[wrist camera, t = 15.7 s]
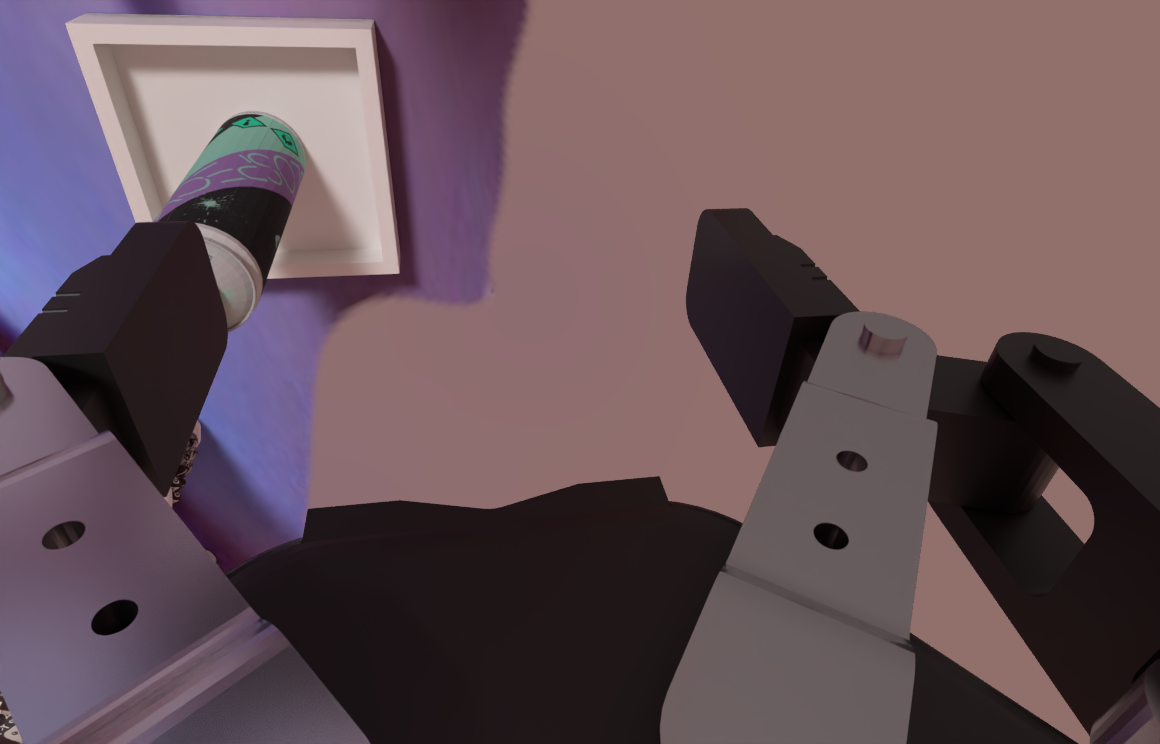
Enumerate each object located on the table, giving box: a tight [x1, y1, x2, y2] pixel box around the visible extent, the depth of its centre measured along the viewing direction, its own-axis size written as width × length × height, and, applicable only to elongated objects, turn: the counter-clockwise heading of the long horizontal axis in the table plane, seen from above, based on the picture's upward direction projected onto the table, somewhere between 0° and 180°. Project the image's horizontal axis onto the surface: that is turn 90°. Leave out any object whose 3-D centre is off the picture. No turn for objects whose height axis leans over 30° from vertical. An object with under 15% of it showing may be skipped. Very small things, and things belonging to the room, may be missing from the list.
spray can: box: [154, 111, 306, 332], centre depth 37 cm, size 6×6×20 cm
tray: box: [65, 13, 401, 279], centre depth 45 cm, size 16×16×3 cm
